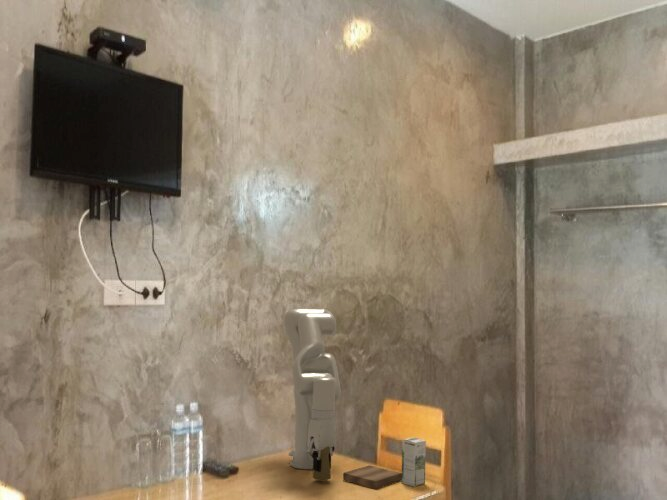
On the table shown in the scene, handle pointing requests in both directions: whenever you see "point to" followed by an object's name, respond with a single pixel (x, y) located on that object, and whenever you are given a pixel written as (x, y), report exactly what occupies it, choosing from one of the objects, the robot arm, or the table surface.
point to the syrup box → (413, 461)
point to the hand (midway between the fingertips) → (322, 468)
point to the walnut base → (372, 476)
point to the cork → (323, 466)
